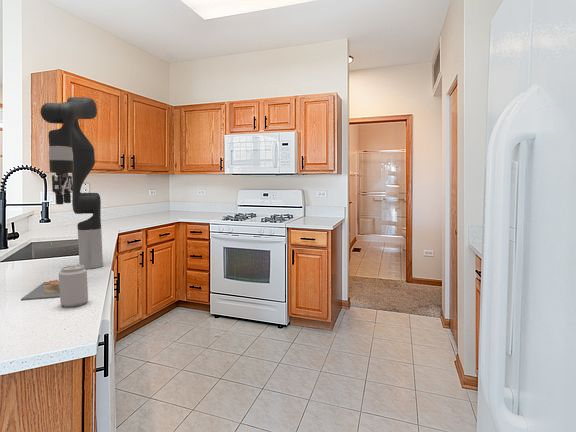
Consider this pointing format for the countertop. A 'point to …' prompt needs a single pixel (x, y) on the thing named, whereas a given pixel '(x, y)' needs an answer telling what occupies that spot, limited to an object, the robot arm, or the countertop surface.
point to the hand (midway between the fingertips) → (63, 203)
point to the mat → (40, 293)
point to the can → (73, 285)
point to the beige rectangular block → (52, 287)
